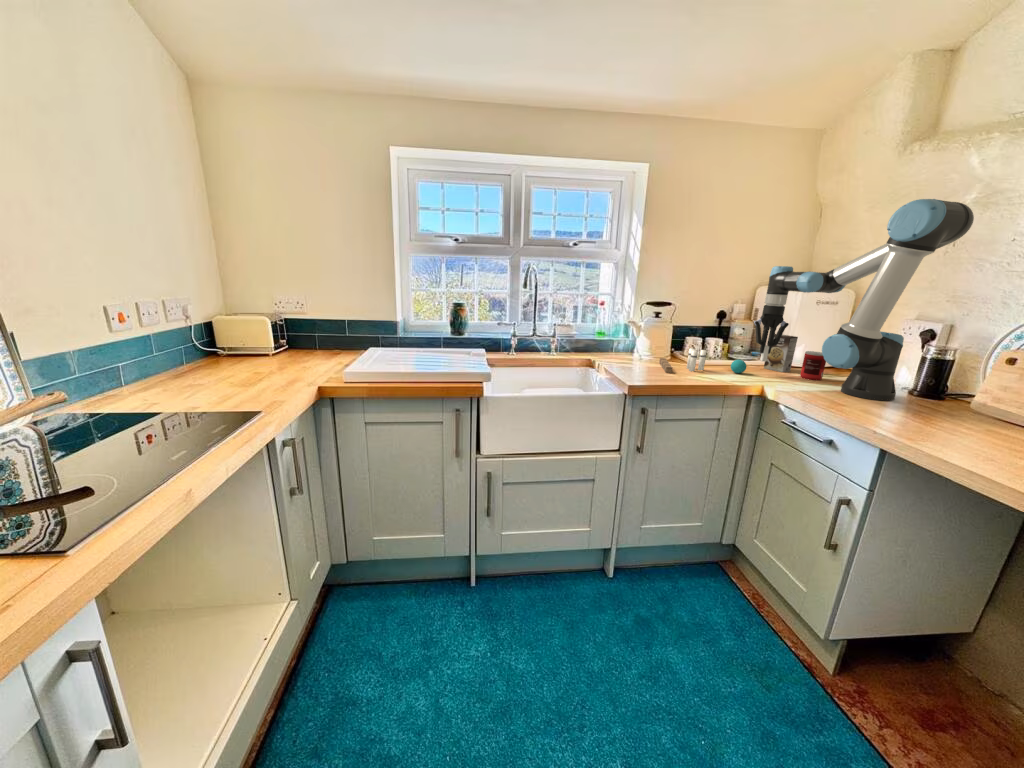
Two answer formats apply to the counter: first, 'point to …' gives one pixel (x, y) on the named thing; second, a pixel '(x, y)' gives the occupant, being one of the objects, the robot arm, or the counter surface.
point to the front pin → (702, 360)
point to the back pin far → (689, 357)
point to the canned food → (813, 365)
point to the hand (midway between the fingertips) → (763, 360)
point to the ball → (738, 366)
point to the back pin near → (693, 360)
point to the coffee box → (781, 354)
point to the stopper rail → (665, 365)
